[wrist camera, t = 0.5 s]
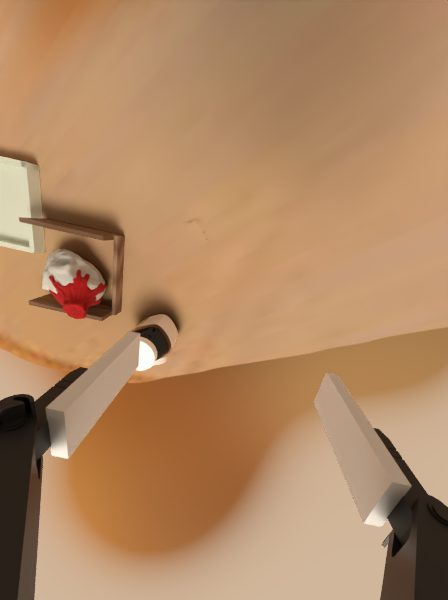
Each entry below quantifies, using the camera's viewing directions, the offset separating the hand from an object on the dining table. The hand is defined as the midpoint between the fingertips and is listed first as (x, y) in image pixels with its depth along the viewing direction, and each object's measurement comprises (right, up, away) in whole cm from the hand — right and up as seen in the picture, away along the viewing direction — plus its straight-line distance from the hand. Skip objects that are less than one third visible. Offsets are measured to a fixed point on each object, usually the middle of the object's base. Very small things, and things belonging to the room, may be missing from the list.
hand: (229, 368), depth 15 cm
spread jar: (-16, -4, +37) cm, 40 cm away
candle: (-33, +13, +33) cm, 48 cm away
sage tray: (-46, +25, +29) cm, 60 cm away
